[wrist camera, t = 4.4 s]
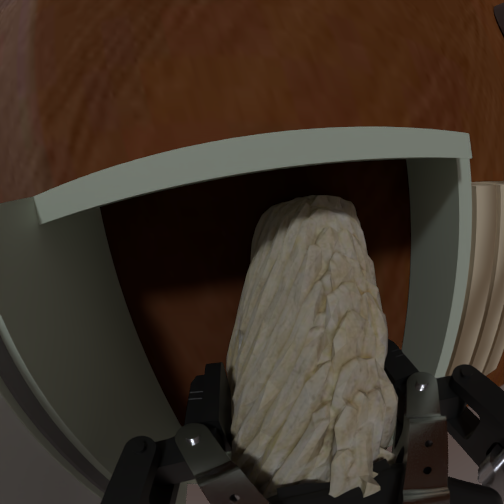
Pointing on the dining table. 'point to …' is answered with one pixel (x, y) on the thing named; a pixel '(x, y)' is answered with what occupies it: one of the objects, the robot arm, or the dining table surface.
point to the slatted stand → (483, 284)
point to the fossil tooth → (310, 354)
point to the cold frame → (118, 317)
